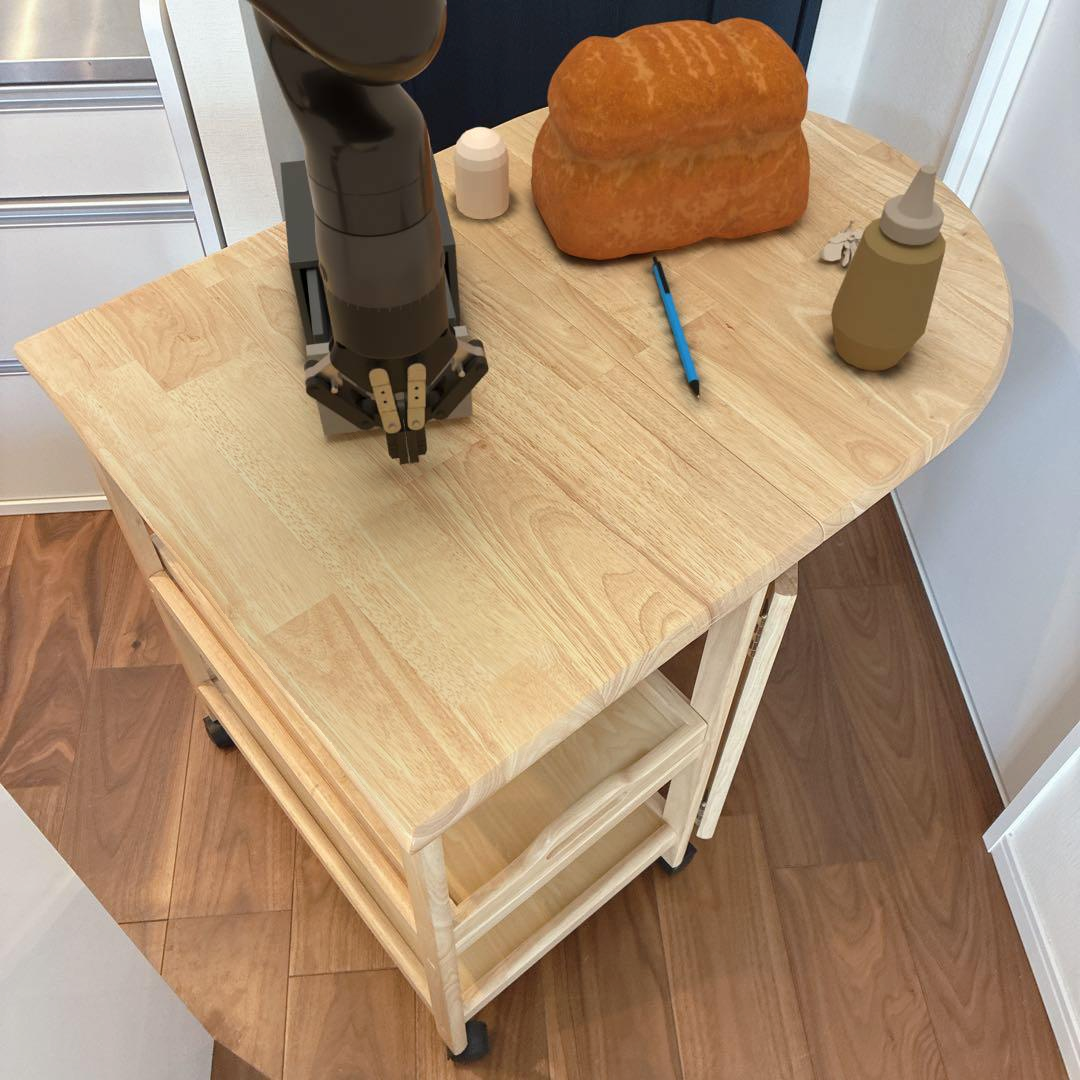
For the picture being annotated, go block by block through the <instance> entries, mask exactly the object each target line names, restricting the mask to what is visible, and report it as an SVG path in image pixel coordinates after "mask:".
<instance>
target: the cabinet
mask: <svg viewBox="0 0 1080 1080" xmlns="http://www.w3.org/2000/svg"><path fill="white" fill-rule="evenodd" d="M430 150H431V163H432V175H433V187H434V198H435V205H436V209H437V213H438V217H439V222H440V226H441V235H442V247H443V249H444V252H445V264H444V268H445V273H446V277H447V281H448V286H449V290H450V294H451V299H452V303H453V307H454V311H455V316H456V326H462V325H461V324H462V323H461V311H460V309H461V308H460V294H459V277H458V262H457V245H456V240H455V237H454V232H453V229H452V223H451V221H450V216H449V212H448V208H447V204H446V200H445V196H444V193H443V189H442V184H441V180H440V176H439V172H438V167H437V164H436V160H435V156H434V153H433V148H432V147H431V146H430ZM279 164H280V176H281V186H282V187H281V188H282V199H283V208H284V209H283V210H284V220H285V231H286V242H287V254H288V264H289V269H290V273H291V278H292V283H293V288H294V292H295V297H296V301H297V306H298V310H299V316H300V320H301V325H302V330H303V334H304V335H303V336H304V338H305V344H306V345H312V344H315V342H314V337H313V330H312V320H311V311H310V301H309V292H308V282H307V272H306V268H310V267H319V266H318V264H319V257H318V252H317V246H316V238H315V214H314V207H313V202H312V196H311V191H310V186H309V180H308V175H307V170H306V163H305V159H304V160H303V159H302V160H293V161H284V162H280V163H279Z"/></svg>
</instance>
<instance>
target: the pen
mask: <svg viewBox="0 0 1080 1080" xmlns="http://www.w3.org/2000/svg"><path fill="white" fill-rule="evenodd" d="M652 261H653V262H652V263H653V264H652V270H653V273H654V277H655V281H656V284H657V286H658V290H659V293H660V295H661V299H662V302H663V305H664V308H665V312H666V315H667V318H668V321H669V324H670V328H671V331H672V335H673V337H674V341H675V344H676V347H677V350H678V351H677V352H678V353H679V356H680V360H681V363H682V366H683V370H684V372H685V373H684V374H685V376H686V379H687V382H688V385H689V387H690V388H691V391H692V392H693V393H694V395H695V396H696V397H697V398H698V399H700V396H701V395H700V394H701V393H700V380H699V376H698V374H697V371H696V367H695V364H694V361H693V358H692V355H691V352H690V349H689V346H688V345H689V344H688V343H687V340H686V336H685V333H684V329H683V327H682V323H681V321H680V317H679V315H678V310H677V308H676V305H675V301H674V300H673V296H672V292H671V290H670V287H669V283H668V281H667V277H666V274H665V271H664V269H663V265H662V263H661V261H660V260H658V258H657V256H656V255H653V256H652Z"/></svg>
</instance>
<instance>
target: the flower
mask: <svg viewBox="0 0 1080 1080" xmlns="http://www.w3.org/2000/svg"><path fill="white" fill-rule="evenodd" d="M855 221H857V219H854V220H853V219H849V224H848V226H847V227H845V229H844V231H843V232H841V231H840V230H838V231H837V234H836V235H835V236H834V237H830V238H827V241H828V242H827V244H826V245H825V246H824V248H822V250H820V252H819V253H817V256H819V257H820V258H822V259H823V260H824V261H829V262H834V261H838V260H841V259H842V254H843V255H844V258H843V260H842V261H841V265H842V266H843V267H846V266H847V264H848V263H849V262H851V261H852V259H853V256H854V254H855V252H856V249H857V247H858V244H859V242H860V240H861V237H862V235H863V233H864V231H863V230H861V229H860V228H857V230H856V231H854V230H852V226H853V224H854V223H855ZM843 248H845V249H844V250H843ZM842 250H843V252H842ZM850 256H851V257H850Z"/></svg>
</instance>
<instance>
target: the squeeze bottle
mask: <svg viewBox="0 0 1080 1080" xmlns="http://www.w3.org/2000/svg"><path fill="white" fill-rule="evenodd" d="M936 175H937V168H936V167H935V166H933V165H930V164H923V165H922V166H920V167H919V169H918V171H917V173H916V174H915V176H914V177H913V179H912V181H911V183H910V185H909V186H908V187H907V190H906V191H905V192H904V194H899V195H895V196H893V197H890V198H889V199H888V200H887V201H886V202H884V205H883V209H882V212H881V216H880V217H879V218H875V219H874V220H872V221H871V222H870V223H869V224H867V226H866V227H864V231H863V232H864V233H863V235H862V237H861V240H860V242H859V243H858V247H857V249H856V252H855V251H854V252H855V254H854V256H853V259H852V261H851V260H850V263H849V265H848V268H847V270H846V273H845V275H844V277H843V280H842V282H841V284H840V287H839V290H838V291H837V294H836V296H835V298H834V301H833V303H832V308H831V313H830V316H831V324H832V332H833V333H832V334H833V341H834V342H833V343H834V347H835V349H836V352H837V355H838V356H839V357H840V358H841V359H843V360H844V362H846V363H847V364H849V365H851V366H853V367H855V368H857V369H861V370H867V371H872V372H873V371H874V372H875V371H886V370H887V369H891V368H893V367H895V366H896V365H897V364H898V363H899V362H900V361H901V359H902V358H904V356H905V355H906V354H907V353H908V352H909V351H910V350H911V349H912V347H913V346H914V345H916V343H917V342H918V341H919V340H920V339H921V338H922V337H923V336H924V334H925V333H926V330H927V324H928V321H929V317H930V313H931V310H932V306H933V301H934V297H935V293H936V290H937V289H936V288H937V284H938V281H939V276H940V272H941V269H942V266H943V265H942V264H943V261H944V256H945V252H946V246H947V242H946V239H945V238H944V236H943V234H942V232H941V228H942V226H943V223H944V219H945V213H944V211H943V209H942V207H941V205H939V204H938V203H936V202H935V201H934V197H935V187H936V177H937V176H936Z"/></svg>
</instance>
